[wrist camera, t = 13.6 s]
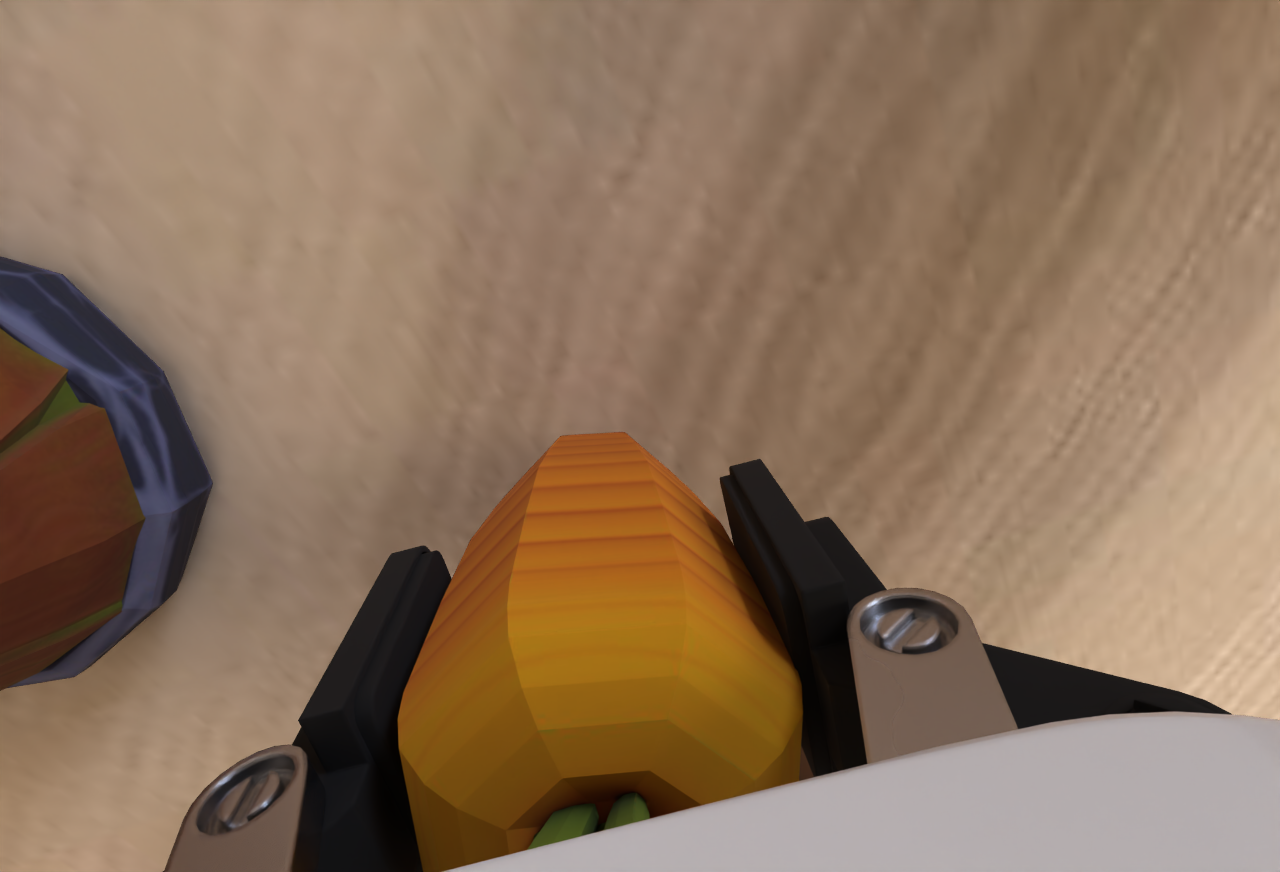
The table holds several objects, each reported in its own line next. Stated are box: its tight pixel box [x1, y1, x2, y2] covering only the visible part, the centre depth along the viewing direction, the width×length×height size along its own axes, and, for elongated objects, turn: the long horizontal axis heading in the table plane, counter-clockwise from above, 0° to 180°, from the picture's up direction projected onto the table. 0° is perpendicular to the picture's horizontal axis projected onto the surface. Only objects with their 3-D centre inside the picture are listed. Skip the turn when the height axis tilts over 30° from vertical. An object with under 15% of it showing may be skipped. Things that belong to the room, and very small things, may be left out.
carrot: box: [398, 432, 803, 872], centre depth 10 cm, size 5×5×15 cm
